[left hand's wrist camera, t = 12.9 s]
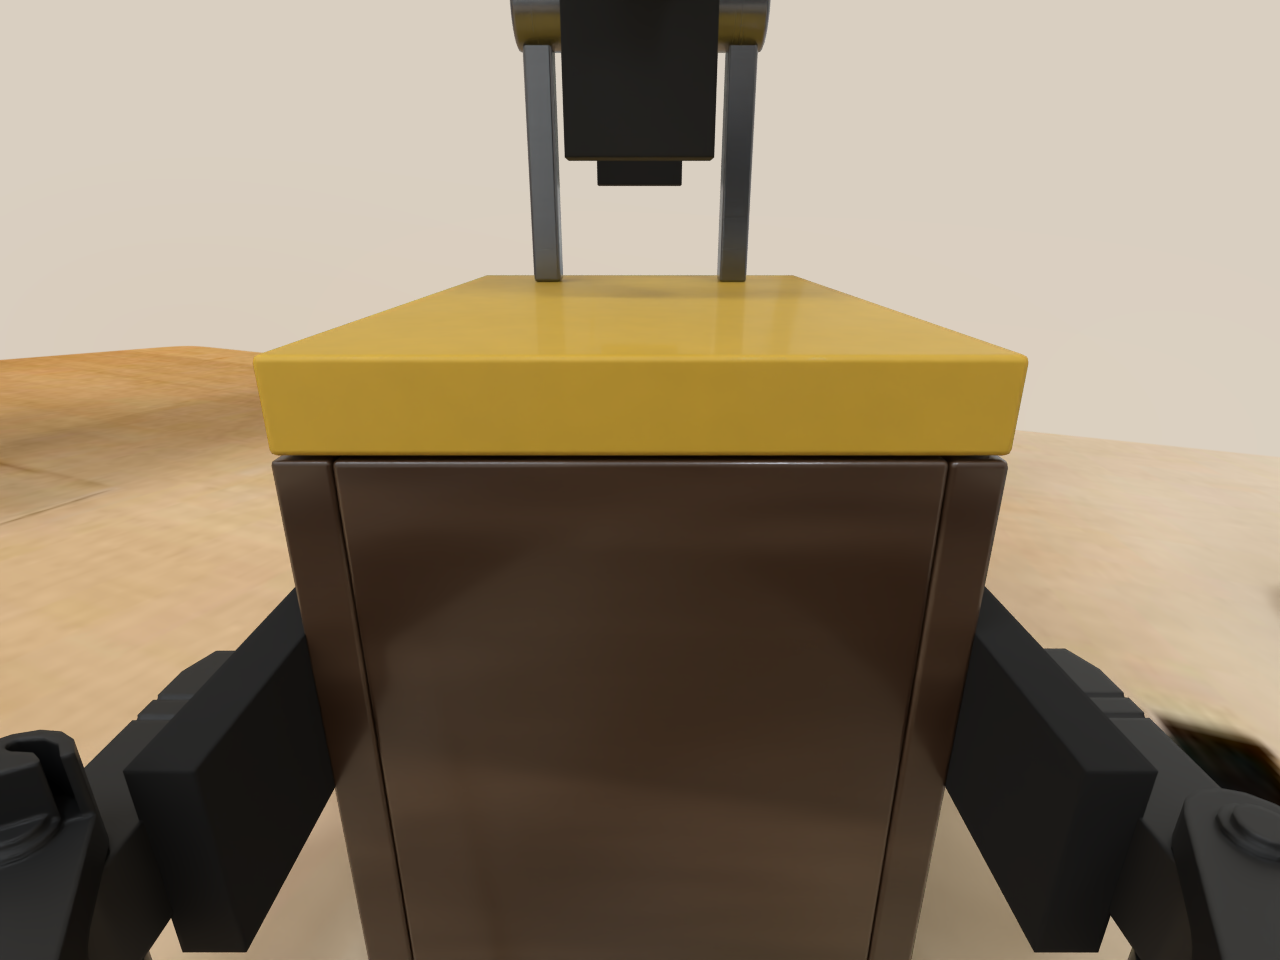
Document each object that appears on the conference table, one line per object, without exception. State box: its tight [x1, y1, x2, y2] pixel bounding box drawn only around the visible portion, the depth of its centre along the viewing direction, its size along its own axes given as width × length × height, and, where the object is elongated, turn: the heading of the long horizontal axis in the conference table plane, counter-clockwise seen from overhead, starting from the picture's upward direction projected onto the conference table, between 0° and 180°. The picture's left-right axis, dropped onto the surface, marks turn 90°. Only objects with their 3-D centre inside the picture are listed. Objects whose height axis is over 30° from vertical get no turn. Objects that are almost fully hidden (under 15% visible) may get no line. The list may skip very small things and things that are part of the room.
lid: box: [253, 0, 1028, 455], centre depth 13 cm, size 13×9×8 cm
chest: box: [272, 455, 1008, 960], centre depth 17 cm, size 13×9×11 cm
